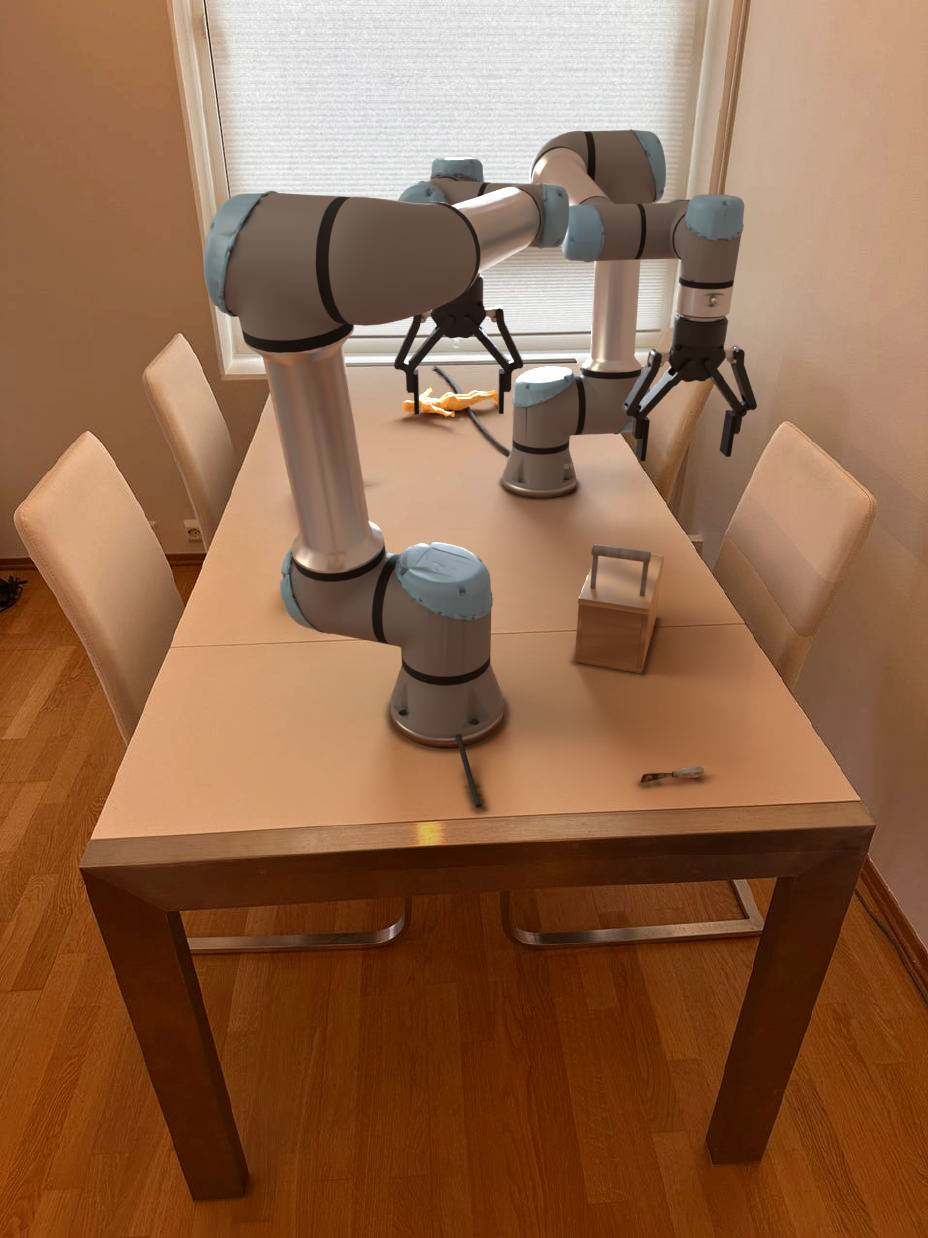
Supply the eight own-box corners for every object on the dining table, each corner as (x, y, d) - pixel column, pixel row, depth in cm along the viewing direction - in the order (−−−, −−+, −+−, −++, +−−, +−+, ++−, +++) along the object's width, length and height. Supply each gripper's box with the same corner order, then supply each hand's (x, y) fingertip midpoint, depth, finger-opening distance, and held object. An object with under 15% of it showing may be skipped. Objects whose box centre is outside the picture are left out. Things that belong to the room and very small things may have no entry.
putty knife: (703, 777, 109) (705, 767, 109) (642, 788, 108) (644, 777, 107) (700, 772, 110) (702, 762, 109) (639, 782, 109) (640, 771, 108)
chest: (641, 673, 128) (649, 612, 123) (574, 662, 131) (578, 601, 126) (655, 619, 141) (663, 561, 135) (594, 609, 144) (599, 552, 138)
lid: (648, 614, 122) (654, 564, 118) (577, 603, 125) (581, 554, 121) (663, 561, 135) (669, 514, 131) (599, 552, 138) (602, 506, 134)
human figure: (395, 413, 223) (394, 398, 221) (438, 390, 237) (438, 375, 235) (462, 429, 215) (462, 413, 213) (502, 404, 229) (503, 388, 227)
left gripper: (539, 268, 137) (533, 403, 148) (376, 269, 136) (383, 404, 147) (544, 277, 130) (537, 418, 142) (373, 278, 130) (380, 419, 141)
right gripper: (623, 324, 123) (611, 469, 134) (796, 318, 125) (769, 460, 137) (609, 311, 129) (598, 450, 140) (774, 306, 132) (750, 442, 143)
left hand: (458, 411), depth 145 cm, fingers open, 13 cm apart
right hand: (682, 456), depth 138 cm, fingers open, 13 cm apart
